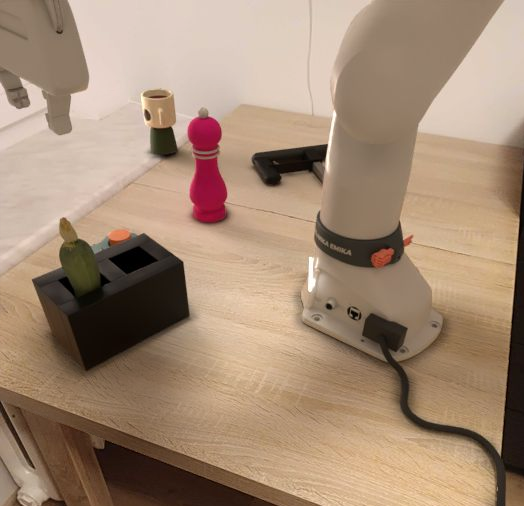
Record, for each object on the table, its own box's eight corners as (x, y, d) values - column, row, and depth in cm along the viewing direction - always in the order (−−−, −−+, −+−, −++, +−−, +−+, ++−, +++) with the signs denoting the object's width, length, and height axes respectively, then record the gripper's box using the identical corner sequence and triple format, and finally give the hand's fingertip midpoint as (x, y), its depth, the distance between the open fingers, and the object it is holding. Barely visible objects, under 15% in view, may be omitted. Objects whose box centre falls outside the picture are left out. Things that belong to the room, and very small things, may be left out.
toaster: (189, 316, 76) (183, 261, 69) (86, 371, 68) (67, 316, 61) (153, 286, 82) (143, 232, 75) (52, 334, 73) (31, 279, 66)
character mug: (146, 144, 122) (138, 86, 113) (176, 141, 123) (170, 84, 114) (151, 163, 114) (143, 103, 105) (182, 160, 116) (176, 100, 107)
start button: (136, 244, 84) (134, 235, 83) (117, 252, 82) (115, 243, 81) (124, 235, 86) (123, 226, 84) (106, 243, 84) (104, 234, 83)
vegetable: (90, 325, 75) (52, 202, 61) (118, 326, 74) (88, 203, 60) (81, 346, 71) (40, 221, 57) (111, 347, 71) (77, 222, 57)
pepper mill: (222, 226, 95) (218, 117, 81) (186, 221, 96) (175, 113, 82) (232, 207, 100) (229, 102, 86) (197, 203, 101) (188, 98, 87)
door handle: (359, 172, 107) (329, 138, 117) (271, 184, 103) (248, 148, 113) (357, 186, 110) (328, 152, 120) (271, 199, 105) (248, 162, 115)
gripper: (86, -39, 39) (119, 141, 48) (-17, -64, 49) (27, 88, 59) (6, -31, 36) (58, 159, 45) (-86, -60, 46) (-28, 100, 56)
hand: (40, 118), depth 52 cm, fingers open, 8 cm apart
